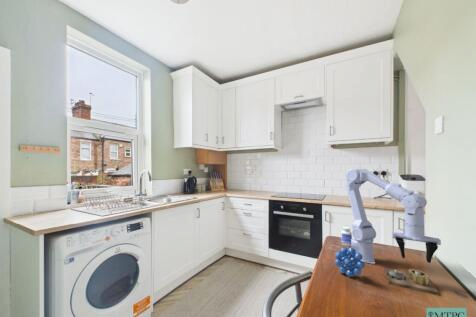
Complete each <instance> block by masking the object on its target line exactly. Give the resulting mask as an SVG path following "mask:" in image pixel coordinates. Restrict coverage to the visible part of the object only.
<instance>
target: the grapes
mask: <svg viewBox="0 0 476 317" xmlns="http://www.w3.org/2000/svg"><path fill="white" fill-rule="evenodd" d="M334 256H335V258H336V259H335V260H334V265H335V266H337V267H338V271H339V272H340V273H341V274H346V276H347V277H348V278H351V277H354V276H360V275H361V274H362V270H363V269H364V268H365V267H366V265H365V264H366V263H365V262H363V261H360V260H362V254H361V253H356V250H355V249H354V248H352V247H351V246H349V247H348V248H347V246H346V247H345V246H342V247H341V248H340V249H339V251H336V252H335V254H334Z"/></svg>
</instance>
